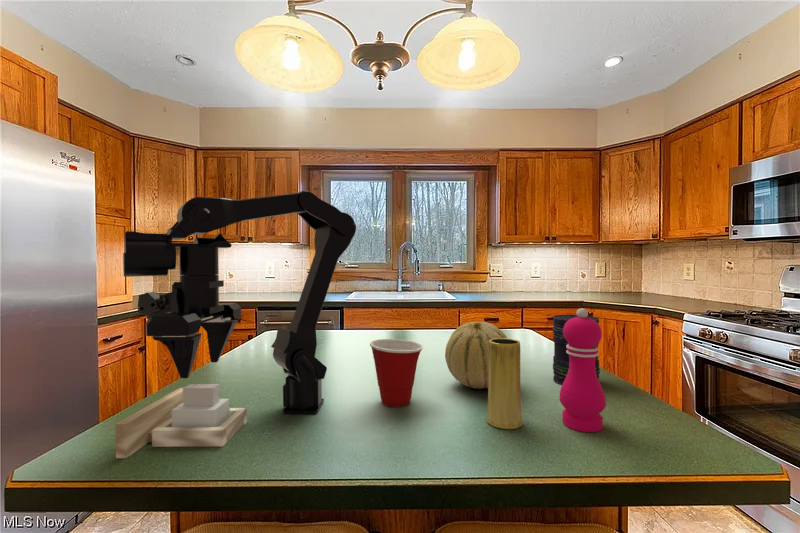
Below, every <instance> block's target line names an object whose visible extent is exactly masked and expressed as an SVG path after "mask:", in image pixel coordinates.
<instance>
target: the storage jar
mask: <svg viewBox="0 0 800 533" xmlns="http://www.w3.org/2000/svg"><path fill="white" fill-rule="evenodd" d="M575 317H578V316H577V314H555V315H553V316H552V318H553V319H552V320H553V322H552V324H553V325H552V333H553V334H552V340H553V342H554V344H553V345H554V350H553V351H554V352H553V353H554V355H553V357H552V358H553V359H552V360H553V361H552V362H553V363H552V372H553V382H554V383H555V384H557V385H560V386H562V384H563V382H564V380H565V378H566V376H567V374H568V370H569V362H570V361H569V354H567V353H566V350H567V347H566V345H567V344H568V342H567V340H566V339H565V338H564V335H563V328H564V325H565V323H566V322H567V321H568V320H570V319H572V318H575ZM586 318H590V319H592V320H594V321H596V322H597V323H598V324H599V323H600V318H599V317H597V316H592V315H587V317H586ZM599 344H600V341H599V342H598V344H597V345H596V346H597V347H598V348H599ZM600 370H601V369H600V360H599V355H598V356H596V360H595V371H596V375H597V378H598V380H599V379H600Z"/></svg>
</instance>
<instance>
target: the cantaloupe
mask: <svg viewBox="0 0 800 533" xmlns="http://www.w3.org/2000/svg"><path fill="white" fill-rule="evenodd" d="M495 338H508V337H507V336H506V334H505V333H504V332H503V331H502V330H501V329H500V328H499V327H498V326H496V325H494V324H493V323H490V322H487V321H471V322H466V323H464V324H461V325H460V326H458V327H457V328H456V329H455V330H454V331H453V332H452V334H450V337H449V339H448V341H447V343H446V346H445V352H444V358H445V364H446V366H447V369H448V372H449V373H450V374H451V375H452V377H453V378H454V379H455V380H456V381H457V382H459V383H460V384H462V385H463V386H465V387H468V388H473V389H477V390H478V389H479V390H482V389H488V383H489V381H488V380H489V340H491V339H495Z"/></svg>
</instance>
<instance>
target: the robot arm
mask: <svg viewBox="0 0 800 533" xmlns="http://www.w3.org/2000/svg"><path fill="white" fill-rule="evenodd" d="M176 213H177V214H176V220H177V221H176V222H175V223H174V224H173V226H171V227H169V228H168V229H167V232H166V233H156V232H155V233H150V232H139V231H132V230H129V231H124V247H123V248H124V249H123V251H124V252H122V269H123V272H122V273H123V277H124V278H126V277H134V278H135V277H167V276H168V273H169V270H171V271H172V270H176V267H177V248H179V249H178V252H179V254H178V256H179V281H174V282H173V284H172V285H171V292H168V293H165V294H164V293H163V294H161V295H159V294H158V293H156V292H155V291H150V292H147V291H146V292H144V293H141V294H139V295H138V297H137V298H138V299H137V301H138V302H137V313H139V314H141V315H143V316H146V319H147V321H146V322H145V336H146V337H151V338H152V339H153V340H154V341H159V342H160V343H162V344H163V345H164V346H166V348H167V349H168V351H169V353H170V355H171V357H172V360H173V363H174V365H175V368H176V370H177V372H178V375H179V377H180V378H181V379H188V378H189V377H190V375H191V372H192V368H193V366H194V362H195V359H196V355H197V352H198V348H199V345H200V341H201V338H202V333H201V332H199V331H200V330H201V327H202V328H203V330H205V332H206V337H207V344H208V352H209V354H208V355H209V358H210V362H211V363H218V362H219V360H220V359H221V356H222V354H223V351H224V349H225V346H226V345H227V343H228V341H229V338H230V337H231V335H232V333H233V330H234V329H235V327H236V325H237V324H238V323H239V320H238V319H240V318H242V307H241V306H240V305H239V304H238V303H237V302H220V288H222V287H224V286H225V285H224V284H225V282H224V280H219V279H220V278H219V276H220V275H219V274H220V273H219V271H220V269H219V268H220V266H219V249H228V248H231V247H232V243H231V242H229V241H228V240H227V239H226V238H225V237H224V235H223V234H222V233H218V234H216V235H215V236H213V237H195V238H194V239H193V242H192V243H173V241H180V240H183V239H186V238H188V237H189V236H193V235H194V236H200V235H204V234H207V233H210V232H214V231H216V230H219V229H223V228H225V227H229V226H231V225H234V224H238V223H240V222H246V221H251V220H252V221H253V220H260V219H266V218H271V217H272V218H274V217H279V216H285V215H291V214H297V215H298V216H300V217H301V219H302V220H303V221H304V222H305V223H306V225H307V226H308V227H309V228H311V229H312V230H314V231H315V233H314V240H313V242H314V256H313V259H312V262H311V266H310V268H309V271H308V273H307V277H306V279H305V283H304V285H303V289H302V291H301V294H300V298H299V301H298V303H297V306H296V309H295V311H294V315H293V318H292V320H291V321H290V323H289V324H288V325H287V327H281V326H278V329H277V331H276V337H275V340H274V342H273V343H272V345H271V346H270V347H271V348H272V349H273V351H272V358H273V359H274V361H275V364H276V365H278V366H279V367H281V368H282V370H283V372H284V374H287V376H286V377H285V378H284V379H285V383H284V384H283V385H282V406H283V407H284V408H283V410H282V414H318V413H319V411H320V409H321V407H322V406H323V404H324V402H325V398H322V397H323V396H322V392H323V390H322V389H323V388H322V387H323V386H322V385H323V384H322V382H323V381H322V380H324V379H325V377H326V374H327V370H328V368H327V366H326V365H325V364H323V363H322V362H321V361H320V360H319V359H317V357H316V352H317V345H318V340H317V325H318V321H319V318H320V316H321V312H322V310H323V306H324V303H325V301H326V297H327V294H328V291H329V288H330V285H331V282H332V279H333V275H334V272H335V270H336V267H337V263H338V260H339V258H340V257H341V256H342V255H343V254H344V253H345V251H346V250H347V249H348V248H349V246H350V244H351V242H352V240H353V238H354V236H355V235H356V232H357V224H356V223H355V221H354V219H353V217H352V216H351V214H349V213H346V212H342V211H341V210H339V209H338V208H337V207H336V206H334V205H332V204H330V203H328V202H326V201H324V200H322V199H321V198H319V197H318V196H317V195H316V194H314V193H313V192H311V191H309V190H301V191H299V192H292V193H285V194H284V193H283V194H275V195H267V196H260V197H250V198H243V199H233V198H225V197H216V196H215V197H214V196H213V197H212V196H196V197H193V198H190V199H189V200H187V201H186V202H184V203H183V204H182V205H180V207H179V208H178V210H177V212H176Z"/></svg>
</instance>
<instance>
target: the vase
mask: <svg viewBox="0 0 800 533" xmlns="http://www.w3.org/2000/svg"><path fill="white" fill-rule="evenodd" d="M488 381H489V383H488V388H487V390H488V391H487V394H488V395H487V415H486V422H487V423H488V424H489V425H490V426H492V427H494V428H496V429H501V430H515V429H519V428H521V427H523V425H524V420H523V413H522V412H523V411H522V410H523V409H522V394H521V392H522V391H521V341H520V340H518V339H515V338H508V337H507V338H495V339H491V340H489V380H488Z"/></svg>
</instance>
